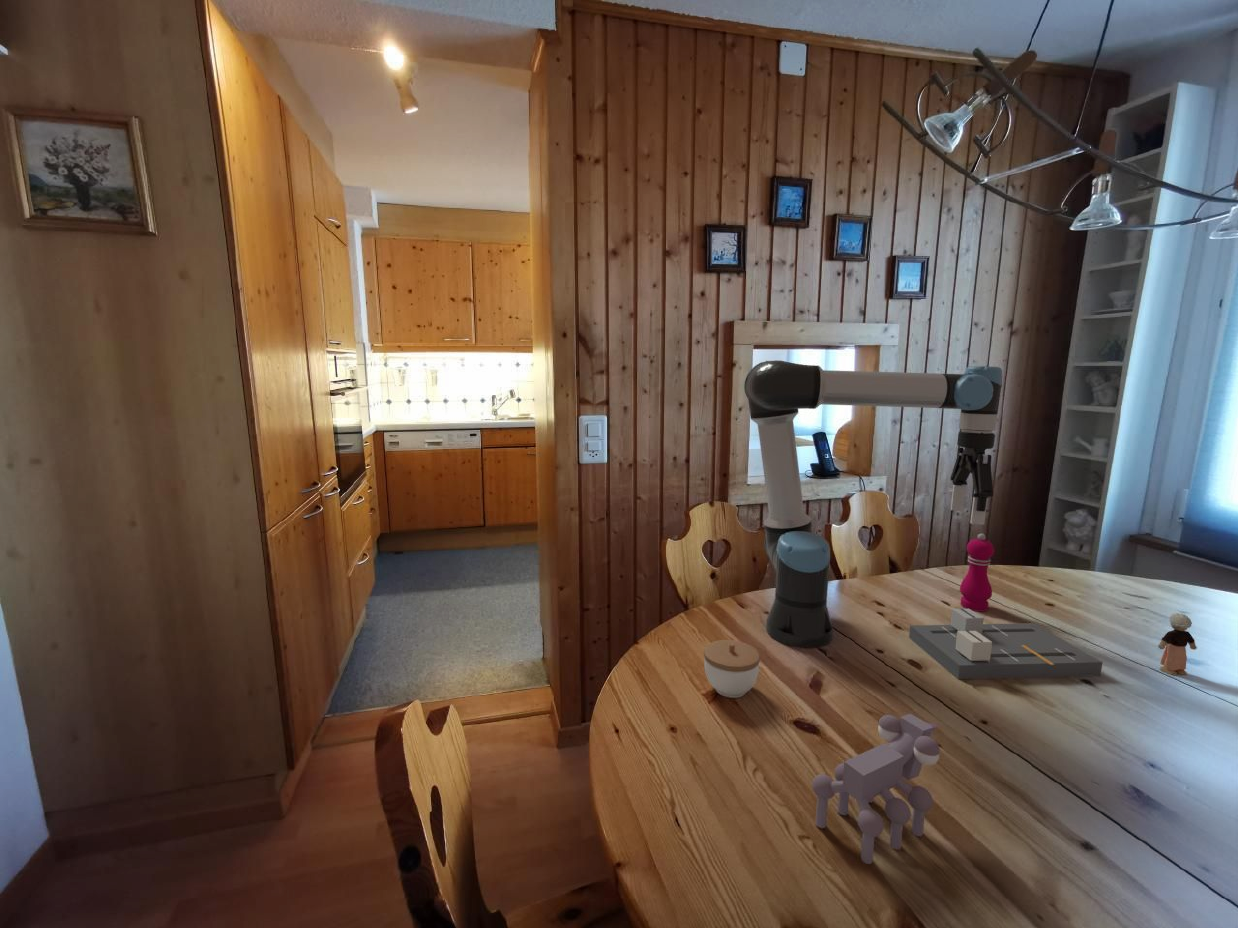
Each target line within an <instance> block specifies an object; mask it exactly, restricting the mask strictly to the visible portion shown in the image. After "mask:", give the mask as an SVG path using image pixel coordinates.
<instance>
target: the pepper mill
mask: <svg viewBox="0 0 1238 928" xmlns="http://www.w3.org/2000/svg"><path fill="white" fill-rule="evenodd" d="M966 551H967V553H968V556H967V558H968V559H967V562H968V564H969V565H968V566H969V567H968V570H967V573H966V575H965V576H964V578H963V579H962V581H961V583H960V586H959V592H960V594H961V595H962V596H961V597H960V605H961V606H962V607H963V608H964V609H970V610H972V611H974V612H985V611H988V610H989V604H990V603H989V601H988V600H990V599H991V598H992V596H993V588H992V586H991V583H990V581H989V580H990V579H989V578H988V568H989V566H990V565H991V561H992V560H991V557H993V555H994V553H995V549H994V545H993V543H991V542H990V541H989V540H986V535H985V534H984V533H979V534H977V538H974V539H971V540H970V541H969V542H968V543H967V546H966Z"/></svg>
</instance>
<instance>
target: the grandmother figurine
mask: <svg viewBox="0 0 1238 928" xmlns="http://www.w3.org/2000/svg"><path fill="white" fill-rule="evenodd" d="M1169 623H1170V626H1171V628H1172V630H1171V631H1170V630H1169V631H1168V632H1166V633H1165V634H1164V636H1163V637H1162V638H1161V640H1160V642H1159V644H1158V645H1157V647H1158V649H1160V650H1164V651H1163V653H1162V656H1161V658H1160V659H1161V660H1160V665H1161V666H1160V668H1159V670H1160V671H1161V672H1163V673H1166V674H1167V675H1170V676H1178V674H1180V675H1184V676H1185V675H1187V674H1188V673H1187V671H1186V669H1187V660H1188V657H1187V649H1186V647H1187V646H1188V645H1189V648H1190V649H1191V650H1194V651H1196V650H1197V649H1198V647H1197V645H1196V642H1195V639H1194V637H1193V636H1192V634H1191V633H1190V632H1189V631H1187V629H1189V628H1191V627H1192V625H1193V622H1192V620H1191V618H1190V617H1189V616H1188V615H1186V614H1185V613H1180V612H1179V613H1176V612H1174V613H1173V614H1171V615H1170V616H1169Z"/></svg>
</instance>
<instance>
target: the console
mask: <svg viewBox="0 0 1238 928" xmlns="http://www.w3.org/2000/svg"><path fill="white" fill-rule="evenodd" d="M957 631H958V630H957V629H955V628H954V627H952V626H951V624H928V625H926V624H923V625H919V624H918V625H917V624H916V625H910V626H909V632H908V633H909V634H908V639H910V640H911V641H912V642H914V643H915V644H916V645H917V646H918V647H919V648H921V650H923V651H924V652H926V654H928V655H929V656H930V657H931V658H933V659H934V660H935V661H936V662H937V663H938V664H940V666H942V667H943V668H944V669H945V670H947V671H948V672H949V673H950V674H951V675H952V676H954V677H955V678H956V679H957V680H975V679H976V680H978V679H984V680H985V679H1018V678H1020V679H1021V678H1023V679H1024V678H1027V679H1028V678H1053V677H1054V678H1061V677H1062V678H1063V677H1068V678H1069V677H1101V676H1102V675H1101V674H1102V669H1103V661H1101V660H1100V659H1097V658H1096V657H1094V656H1093V655H1091V654H1089V653H1087V652H1085V651H1084V650H1082V649H1080V648H1078V647H1077V646H1075V645H1073V644H1072V643H1070V642H1068V641H1067V640H1064V639H1063V638H1061V637H1059V636H1057V635H1056V634H1054V633H1052V632H1051V631H1049V630H1047V629H1045V628H1044V627H1041V626H1040V625H1038V624H1037V623H1034V622H1030V623H1029V622H1028V623H1027V622H1025V623H983V629H982V635H983V636H984V637H985V638H987V639H988V640H990V641H991V642H992V647H991V656H990V660H982V661H971V660H969V659H968V658H967V657H965V656H964V655H963V654H962V653H960V652H959V651H958V650H956V649H955V648H956V638H957Z"/></svg>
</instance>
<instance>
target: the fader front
mask: <svg viewBox="0 0 1238 928" xmlns="http://www.w3.org/2000/svg"><path fill="white" fill-rule="evenodd" d="M991 647H992V642H991V641H990V640H988V639H987V638H985V637H984V636H983V635H981V634H980V633H978V632H977V631H957V638H956V648H955V649H956V650H958V651H959V652H960V653H962V654H963V655H964V656H965V657H967V658H968V659H969V660H971V661H982V660H990V656H991Z"/></svg>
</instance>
